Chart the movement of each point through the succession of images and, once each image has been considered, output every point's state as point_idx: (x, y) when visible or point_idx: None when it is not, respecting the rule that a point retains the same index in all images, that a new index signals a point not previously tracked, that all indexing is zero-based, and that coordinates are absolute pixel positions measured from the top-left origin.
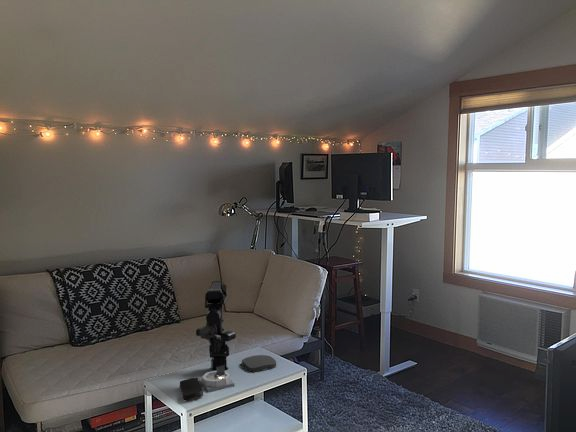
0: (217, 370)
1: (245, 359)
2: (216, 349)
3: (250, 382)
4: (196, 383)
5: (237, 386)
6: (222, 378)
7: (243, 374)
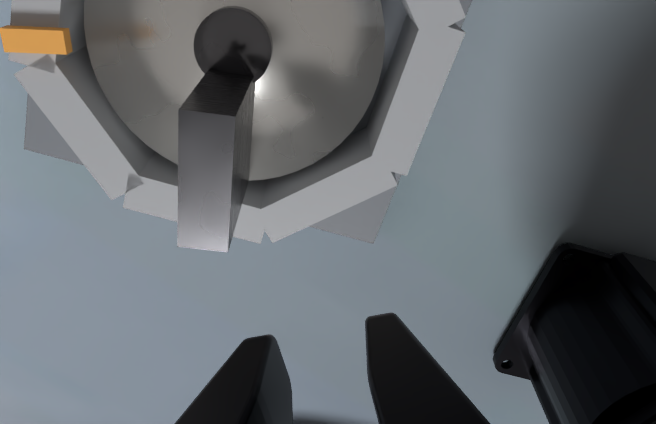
0: (210, 92)
1: None
2: (220, 418)
3: (25, 302)
4: None
5: (8, 152)
6: (32, 29)
7: None
